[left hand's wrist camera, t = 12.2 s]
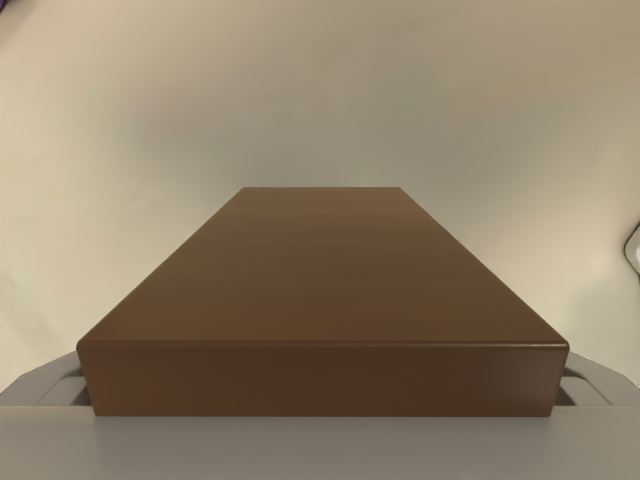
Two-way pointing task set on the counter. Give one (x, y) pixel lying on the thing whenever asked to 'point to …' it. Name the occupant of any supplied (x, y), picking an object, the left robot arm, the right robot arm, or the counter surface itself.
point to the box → (322, 319)
